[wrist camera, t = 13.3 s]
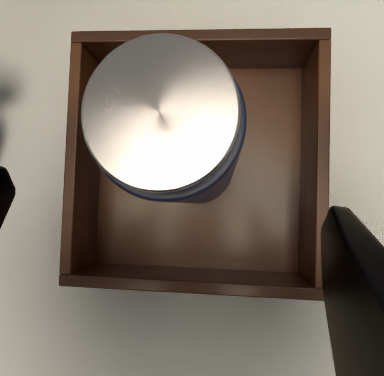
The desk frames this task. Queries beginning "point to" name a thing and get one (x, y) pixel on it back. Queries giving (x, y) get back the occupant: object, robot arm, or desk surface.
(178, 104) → the can
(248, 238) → the desk bin
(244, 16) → the desk surface
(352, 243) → the robot arm
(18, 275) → the desk surface
